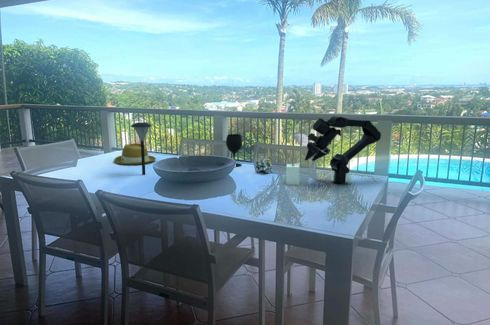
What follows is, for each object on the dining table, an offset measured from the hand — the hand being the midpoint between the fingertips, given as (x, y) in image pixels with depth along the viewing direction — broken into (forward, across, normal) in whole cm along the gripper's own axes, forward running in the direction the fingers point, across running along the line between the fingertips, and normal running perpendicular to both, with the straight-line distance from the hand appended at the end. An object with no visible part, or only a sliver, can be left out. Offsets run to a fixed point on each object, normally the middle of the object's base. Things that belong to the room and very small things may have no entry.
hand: (309, 160), depth 198 cm
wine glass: (+41, -12, -42) cm, 60 cm away
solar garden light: (+63, +40, -58) cm, 95 cm away
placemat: (+14, +1, +1) cm, 15 cm away
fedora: (+80, +19, -89) cm, 121 cm away
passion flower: (+27, -6, -20) cm, 34 cm away
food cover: (+14, +5, +3) cm, 15 cm away
